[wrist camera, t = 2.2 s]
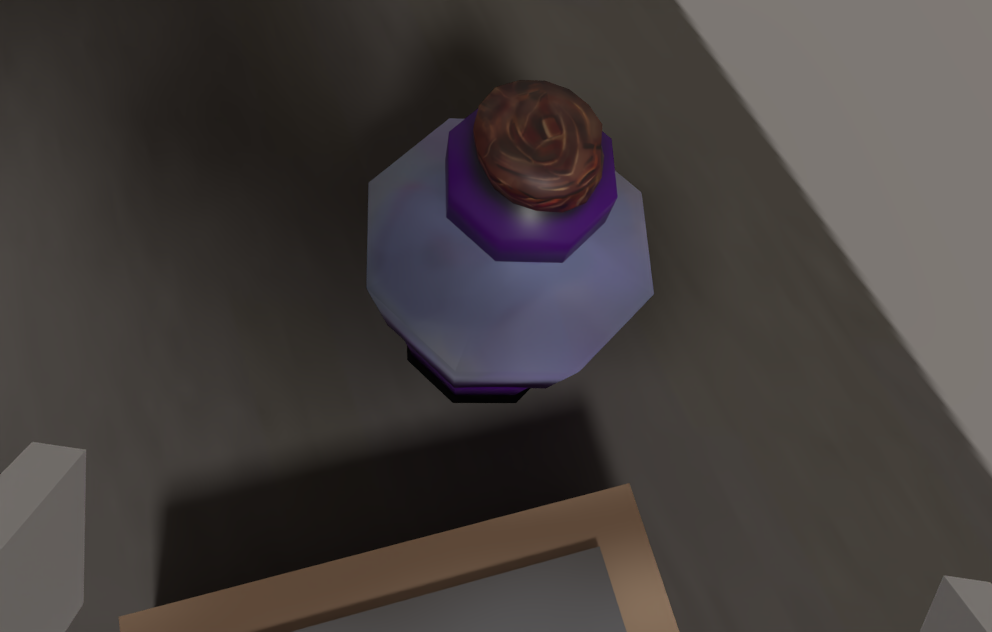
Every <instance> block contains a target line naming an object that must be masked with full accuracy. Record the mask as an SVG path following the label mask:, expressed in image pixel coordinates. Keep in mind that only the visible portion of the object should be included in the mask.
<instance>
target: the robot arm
mask: <svg viewBox="0 0 992 632" xmlns="http://www.w3.org/2000/svg"><path fill="white" fill-rule="evenodd" d="M85 485H86V450H84V449H77V448H70V447H64V446H57V445H50V444H43V443H36V442H32V443H31V444H30V445H29V446H28V447H27V448H26V449H25V450H24V451H23V452H22V453H21V454H20V455H19V456H18V457H17V458H16V459H15V460H14V461H13V462H12V463H11V464H10V465H9V466H8V467H7V468H6V469H5V470H4V471H3V472H2V473H1V474H0V632H65V631H66V630H67V628H68V627H69V625H70V624H71V622H72V620H73V619H74V617H75V616H76V614H77V613H78V611H79V610H80V608H81V607H82V605H83V601H84V543H85ZM920 632H992V584H991V583H990V582H985V581H978V580H971V579H964V578H957V577H951V576H943V578H942V581H941V583H940V585H939V588H938V590H937V592H936V595H935V597H934V599H933V602H932V604H931V607H930V609H929V611H928V614H927V616H926V618H925V621H924V623H923V625H922V628H921V630H920Z"/></svg>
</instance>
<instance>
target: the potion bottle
mask: <svg viewBox="0 0 992 632" xmlns="http://www.w3.org/2000/svg"><path fill="white" fill-rule="evenodd" d="M366 288H367V290H368V292H369V294H370V295H371V297H372V299H373V301H374V302H375V304H376V306H377V308H378V309H379V311H380V313H381V315H382V316H383V318H384V320H385V322H386V323H387V325H388V326H389V327H390V328H391V329H392V330H394V331H395V332H396V333H397V334H398V335H399V336H400V337H401V338H402V339H403V340H404V341H405V342H406V344H407V360H408V361H409V362H410V363H411V364H412V365H413V366H414V367H415V368H417V369H418V370H419V371H420V372H421V373H422V374H423V375H424V376H425V377H426V378H427V379H428V380H429V381H430V382H431V383H432V384H433V385H435V386H436V387H437V388H438V389H439V390H440V391H441V392H442V393H443V394H444V395H445V396H446V397H447V398H448V399H449V400H450V401H452V402H453V403H516V402H517V401H518V400H519V399H520V398H521V397H522V396H523V395H524V394H525V393H526V392H527V391H528V390H529V389H530V388H547V387H549V386H551V385H553V384H555V383H557V382H559V381H561V380H563V379H566V378H568V377H570V376H572V375H574V374H576V373H578V372H579V371H580V370H581V369H582V368H583V367H584V366H585V365H586V364H587V363H588V362H589V361H590V360H591V359H592V358H593V357H594V356H595V355H596V354H597V353H598V352H599V351H600V349H601V348H602V347H603V346H604V345H605V344H606V343H607V342H608V341H609V340H610V339H611V338H612V337H613V336H614V335H615V334H616V333H617V332H618V331H619V330H620V329H621V328H622V327H623V326H624V325H625V324H626V323H627V322H628V320H629V319H630V318H631V317H632V316H633V315H634V314H635V313H636V312H637V311H638V310H639V309H640V308H641V307H642V306H643V305H644V304H645V303H646V302H647V301H648V300H649V299H650V298H651V297H652V296H653V295H654V291H653V282H652V274H651V266H650V258H649V249H648V241H647V233H646V225H645V217H644V208H643V200H642V193H641V192H640V191H639V190H638V189H637V188H635V187H634V186H633V185H632V184H631V183H629V182H628V181H627V180H626V179H625V178H623V177H622V176H621V175H620V174H619V173H617V172H616V171H615V167H614V158H613V149H612V140H611V138H610V137H609V136H607V135H606V134H605V133H604V132H602V123H601V122H600V121H599V119H598V118H597V116H596V115H595V113H594V112H593V110H592V109H591V107H590V106H589V105H588V104H587V103H586V102H584V101H583V100H582V99H581V98H579V97H578V96H577V95H576V94H574V93H573V92H572V91H571V90H569V89H567V88H564V87H561V86H558V85H555V84H553V83H550V82H547V81H529V80H519V81H515V82H512V83H508V84H505V85H501V86H498V87H495V88H494V89H493V90H492V92H491V93H490V94H489V95H488V96H487V97H486V98H485V99H484V100H483V101H482V102H481V103H480V105H479V108H478V109H477V110H475V111H474V112H473V113H472V114H470V115H469V116H468V117H467V118H465V119H456V118H449V119H448V120H447V121H445V122H444V123H443V124H442V125H440V126H439V127H438V128H437V129H435V130H434V131H433V132H432V133H430V134H429V135H428V136H427V137H425V138H424V139H423V140H422V141H420V142H419V143H418V144H416V145H415V146H414V147H413V148H411V149H410V150H409V151H408V152H406V153H405V154H404V155H403V156H401V157H400V158H399V159H398V160H396V161H395V162H394V163H393V164H391V165H390V166H389V167H388V168H386V169H385V170H384V171H383V172H381V173H380V174H379V175H378V176H376V177H375V178H374V179H373V180H371V181H370V182H369V188H368V237H367V287H366Z"/></svg>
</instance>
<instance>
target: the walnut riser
mask: <svg viewBox="0 0 992 632" xmlns="http://www.w3.org/2000/svg"><path fill="white" fill-rule="evenodd" d="M119 625H120V632H679V629H678V626H677V623H676V620H675V618H674V615H673V612H672V609H671V606H670V603H669V600H668V597H667V594H666V591H665V588H664V585H663V582H662V579H661V576H660V573H659V570H658V567H657V564H656V561H655V558H654V555H653V552H652V549H651V546H650V543H649V540H648V537H647V534H646V531H645V528H644V525H643V523H642V520H641V517H640V514H639V511H638V508H637V505H636V502H635V499H634V496H633V493H632V490H631V487H630V484H629V483H628V484H624V485H621V486H617V487H613V488H609V489H605V490H602V491H598V492H594V493H590V494H586V495H582V496H579V497H575V498H571V499H567V500H563V501H559V502H556V503H552V504H548V505H544V506H540V507H537V508H533V509H529V510H525V511H521V512H517V513H514V514H510V515H506V516H502V517H498V518H495V519H491V520H487V521H483V522H479V523H475V524H472V525H468V526H464V527H460V528H456V529H453V530H449V531H445V532H441V533H437V534H433V535H430V536H426V537H422V538H418V539H414V540H410V541H407V542H403V543H399V544H395V545H391V546H388V547H384V548H380V549H376V550H372V551H368V552H365V553H361V554H357V555H353V556H349V557H346V558H342V559H338V560H334V561H330V562H326V563H323V564H319V565H315V566H311V567H307V568H304V569H300V570H296V571H292V572H288V573H284V574H281V575H277V576H273V577H269V578H265V579H261V580H258V581H254V582H250V583H246V584H242V585H239V586H235V587H231V588H227V589H223V590H219V591H216V592H212V593H208V594H204V595H200V596H197V597H193V598H189V599H185V600H181V601H177V602H174V603H170V604H166V605H162V606H158V607H155V608H151V609H147V610H143V611H139V612H135V613H132V614H128V615H124V616H120V617H119Z"/></svg>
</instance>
